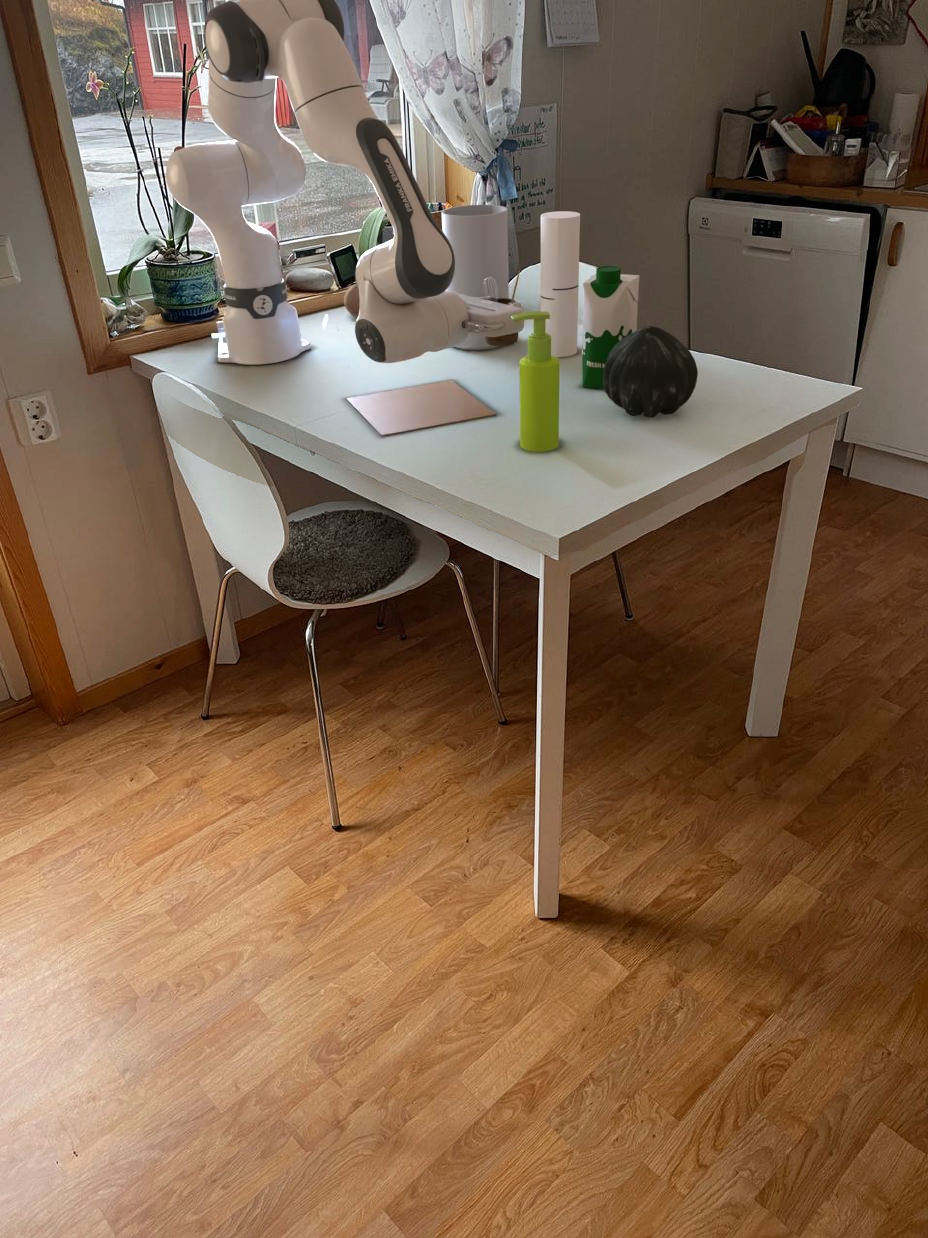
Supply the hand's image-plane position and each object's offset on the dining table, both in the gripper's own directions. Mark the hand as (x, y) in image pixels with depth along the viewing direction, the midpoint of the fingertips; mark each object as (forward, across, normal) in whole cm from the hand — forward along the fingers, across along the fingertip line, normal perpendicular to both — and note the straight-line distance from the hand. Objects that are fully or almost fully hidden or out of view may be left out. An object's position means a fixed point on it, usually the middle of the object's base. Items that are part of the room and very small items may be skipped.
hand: (505, 303), depth 166 cm
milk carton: (+11, -14, +14) cm, 23 cm away
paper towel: (-19, +2, +14) cm, 24 cm away
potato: (+10, +57, +14) cm, 60 cm away
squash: (+5, -28, +14) cm, 32 cm away
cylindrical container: (+19, +5, +14) cm, 24 cm away
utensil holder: (-1, 0, +7) cm, 7 cm away
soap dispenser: (-18, -25, +14) cm, 34 cm away
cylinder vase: (+13, +22, +14) cm, 29 cm away
